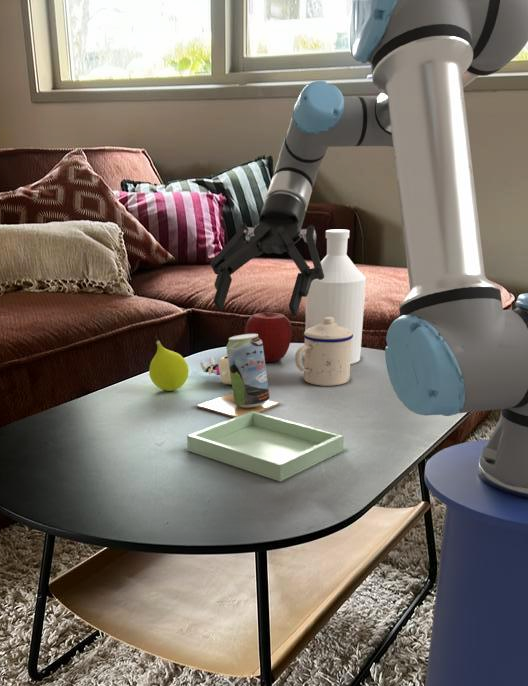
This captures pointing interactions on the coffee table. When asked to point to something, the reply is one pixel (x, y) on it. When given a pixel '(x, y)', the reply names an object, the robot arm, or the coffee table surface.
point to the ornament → (168, 369)
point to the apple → (271, 333)
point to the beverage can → (247, 370)
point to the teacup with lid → (326, 354)
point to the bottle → (338, 291)
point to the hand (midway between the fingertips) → (254, 308)
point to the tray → (265, 445)
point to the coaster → (233, 406)
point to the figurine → (218, 369)
